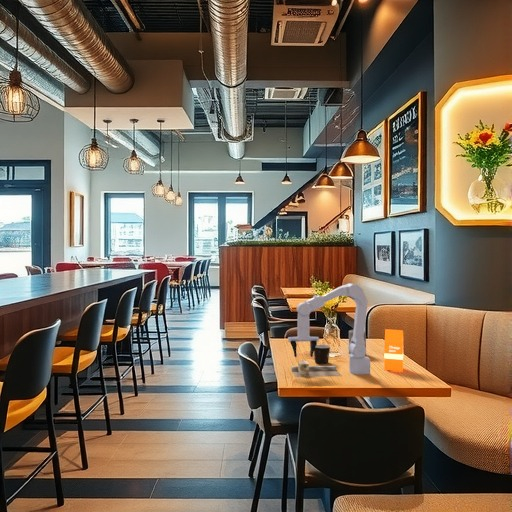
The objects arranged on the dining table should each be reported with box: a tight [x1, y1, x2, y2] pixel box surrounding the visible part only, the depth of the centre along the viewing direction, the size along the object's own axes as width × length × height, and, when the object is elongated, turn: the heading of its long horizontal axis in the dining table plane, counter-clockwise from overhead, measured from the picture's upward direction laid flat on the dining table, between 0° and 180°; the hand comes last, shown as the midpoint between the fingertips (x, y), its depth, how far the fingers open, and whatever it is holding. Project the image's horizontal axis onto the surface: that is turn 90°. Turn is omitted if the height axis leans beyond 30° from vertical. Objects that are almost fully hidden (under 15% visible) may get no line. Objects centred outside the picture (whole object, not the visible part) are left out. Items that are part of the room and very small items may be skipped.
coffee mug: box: [313, 344, 331, 365], centre depth 237 cm, size 12×9×10 cm
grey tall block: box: [348, 329, 367, 356], centre depth 263 cm, size 10×10×15 cm
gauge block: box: [297, 360, 310, 375], centre depth 216 cm, size 4×8×5 cm, turn 4°
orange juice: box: [383, 328, 404, 373], centre depth 230 cm, size 8×9×20 cm
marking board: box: [290, 365, 342, 378], centre depth 217 cm, size 22×12×3 cm, turn 94°
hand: (303, 356), depth 217 cm, fingers open, 7 cm apart
